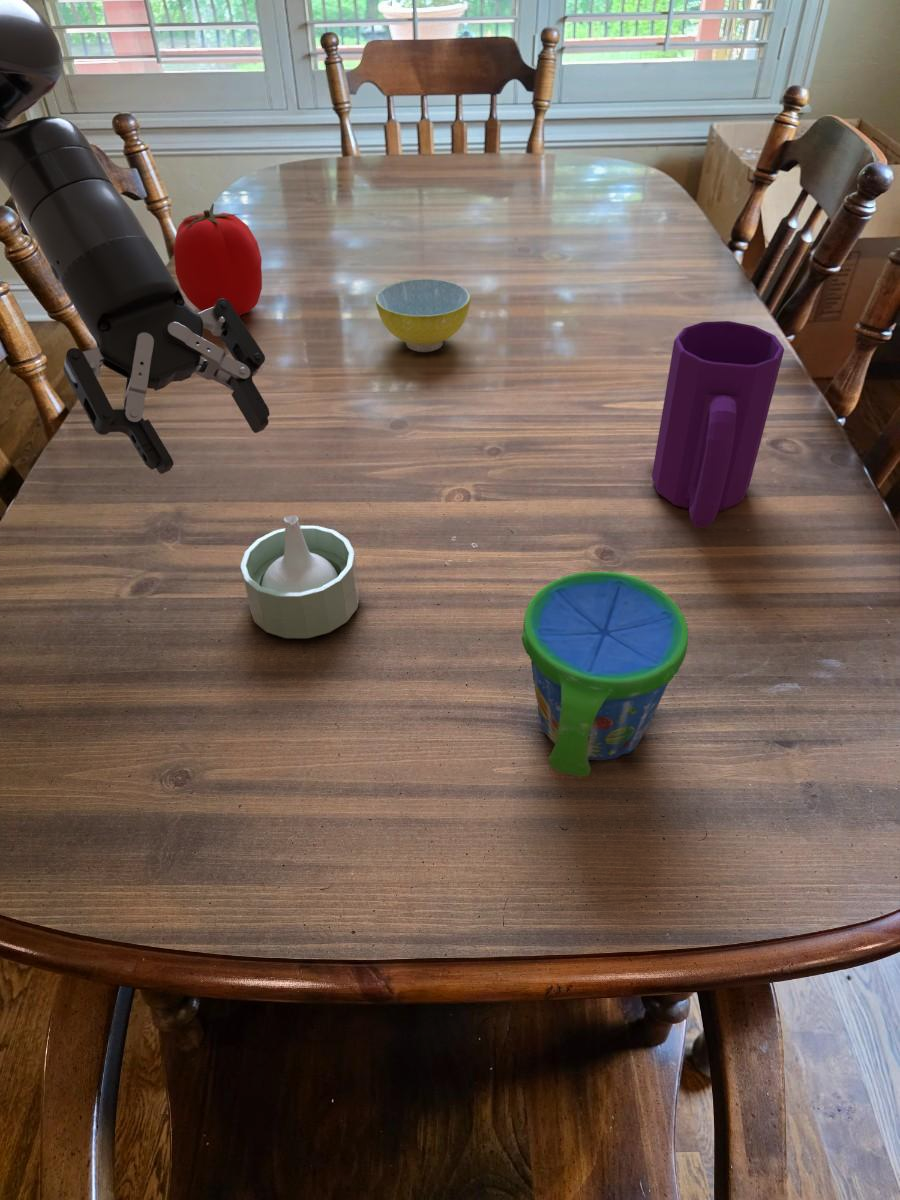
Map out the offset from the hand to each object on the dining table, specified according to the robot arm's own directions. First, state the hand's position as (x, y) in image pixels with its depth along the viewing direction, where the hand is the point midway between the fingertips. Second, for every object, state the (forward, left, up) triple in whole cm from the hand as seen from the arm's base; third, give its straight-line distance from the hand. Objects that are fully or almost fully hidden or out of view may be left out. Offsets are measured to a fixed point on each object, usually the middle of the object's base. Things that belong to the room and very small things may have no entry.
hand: (216, 448), depth 67 cm
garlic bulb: (+1, -7, -12) cm, 14 cm away
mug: (+36, -22, -13) cm, 44 cm away
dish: (+1, -7, -13) cm, 15 cm away
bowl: (+41, +22, -13) cm, 48 cm away
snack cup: (+8, -32, -13) cm, 36 cm away
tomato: (+29, +48, -13) cm, 58 cm away
